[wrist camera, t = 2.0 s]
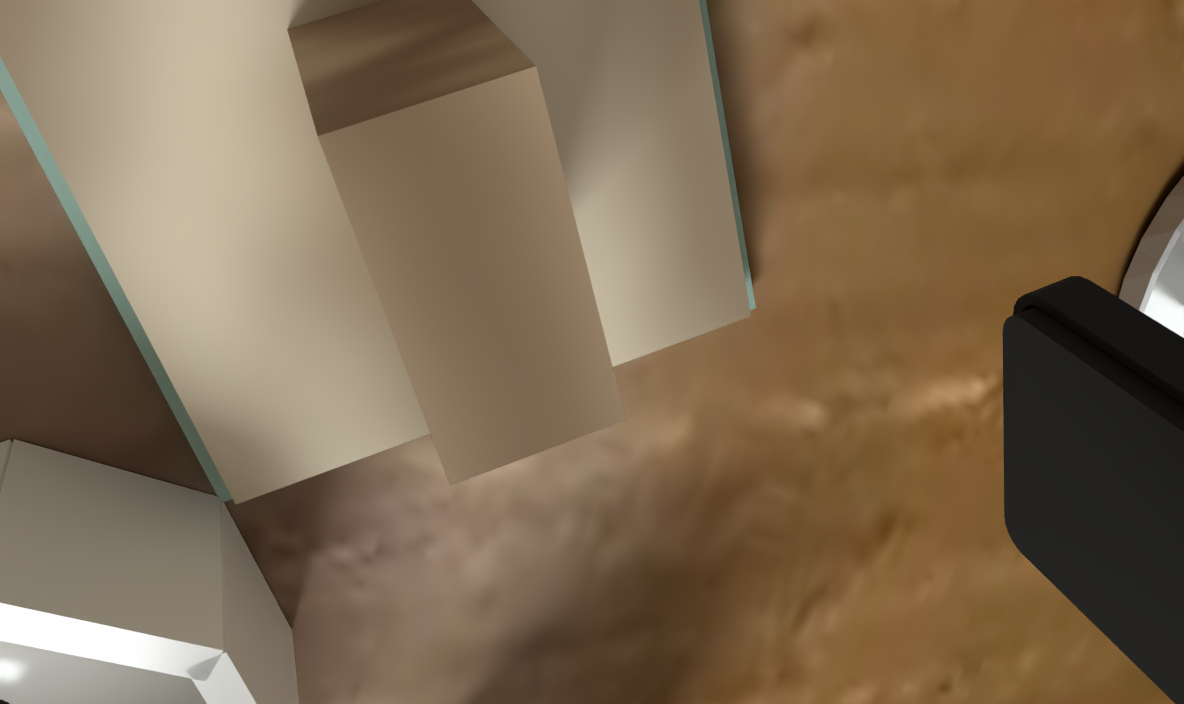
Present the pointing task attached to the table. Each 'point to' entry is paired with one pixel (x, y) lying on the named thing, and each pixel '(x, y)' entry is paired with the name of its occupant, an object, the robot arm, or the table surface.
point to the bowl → (129, 591)
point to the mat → (4, 82)
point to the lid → (391, 210)
